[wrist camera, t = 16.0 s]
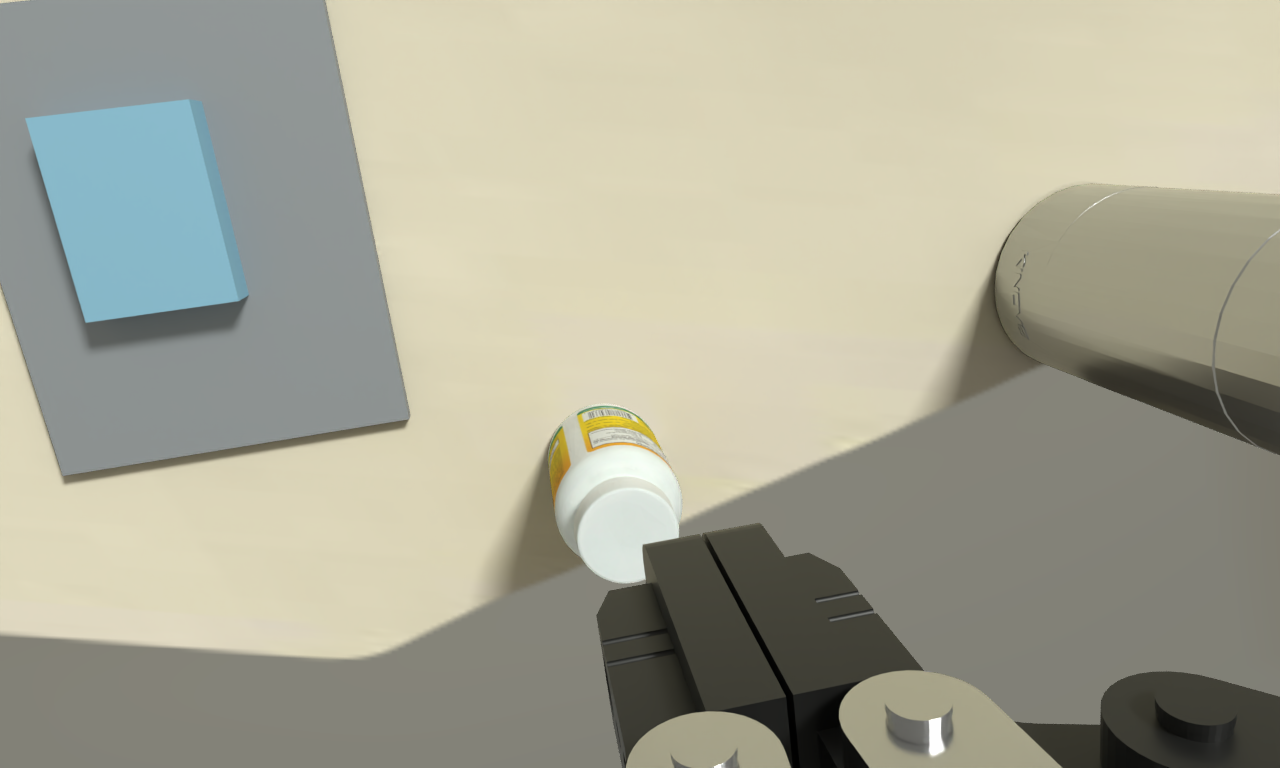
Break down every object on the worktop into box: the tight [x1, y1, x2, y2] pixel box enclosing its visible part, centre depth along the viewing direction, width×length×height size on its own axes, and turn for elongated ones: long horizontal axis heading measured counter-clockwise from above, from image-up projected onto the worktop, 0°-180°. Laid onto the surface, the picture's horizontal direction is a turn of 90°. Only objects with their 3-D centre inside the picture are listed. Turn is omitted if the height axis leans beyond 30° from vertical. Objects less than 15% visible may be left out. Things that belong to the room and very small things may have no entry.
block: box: [25, 99, 249, 323], centre depth 36 cm, size 2×8×6 cm
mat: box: [0, 0, 410, 476], centre depth 38 cm, size 15×19×1 cm
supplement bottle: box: [548, 404, 682, 584], centre depth 39 cm, size 5×5×10 cm
